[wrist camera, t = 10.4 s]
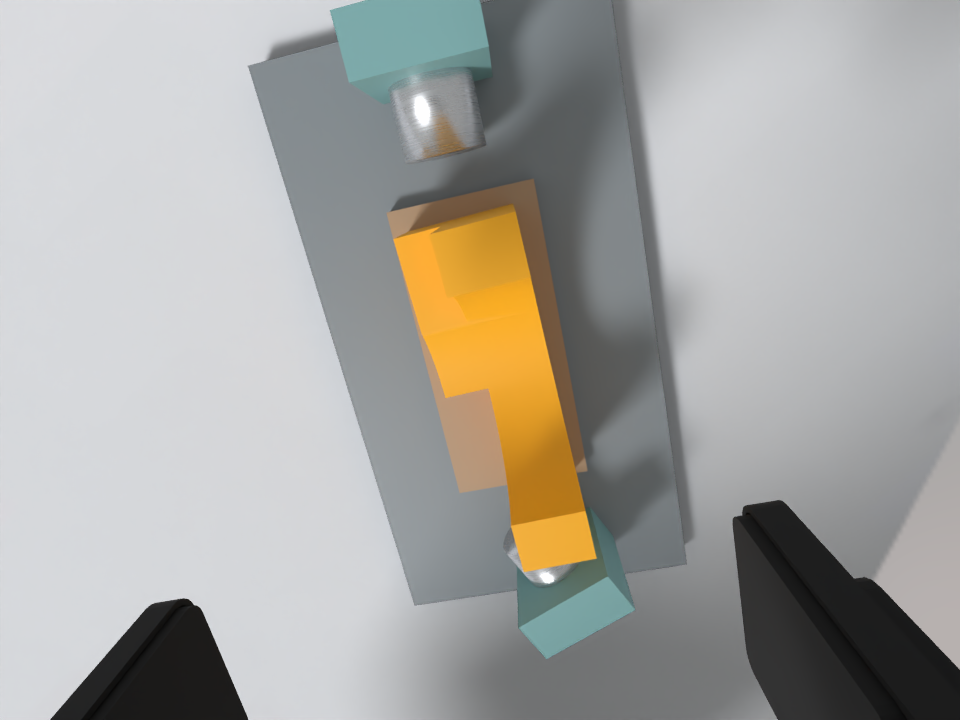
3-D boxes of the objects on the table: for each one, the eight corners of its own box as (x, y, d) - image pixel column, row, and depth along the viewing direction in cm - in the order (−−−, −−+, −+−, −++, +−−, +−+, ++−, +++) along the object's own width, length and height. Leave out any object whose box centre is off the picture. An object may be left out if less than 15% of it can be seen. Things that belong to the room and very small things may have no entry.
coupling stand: (679, 549, 29) (724, 643, 23) (418, 589, 30) (396, 688, 24) (602, -19, 21) (638, -97, 15) (261, 71, 23) (175, 33, 17)
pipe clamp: (408, 231, 23) (372, 249, 16) (512, 203, 22) (515, 211, 16) (482, 487, 26) (475, 581, 20) (574, 467, 25) (596, 558, 19)
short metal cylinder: (609, 560, 27) (621, 605, 24) (558, 590, 28) (564, 637, 25) (555, 493, 26) (561, 532, 23) (503, 526, 27) (503, 567, 24)
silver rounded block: (487, 147, 22) (485, 142, 19) (412, 165, 22) (399, 162, 19) (461, 17, 20) (454, -10, 17) (382, 39, 21) (362, 15, 18)
